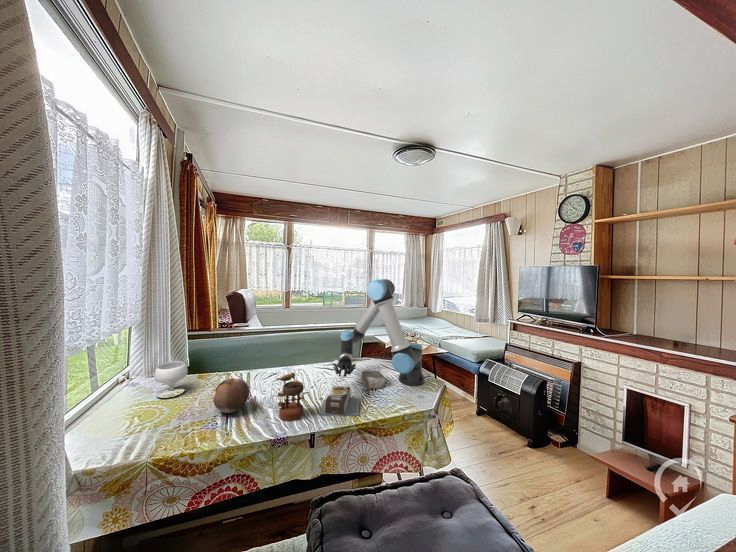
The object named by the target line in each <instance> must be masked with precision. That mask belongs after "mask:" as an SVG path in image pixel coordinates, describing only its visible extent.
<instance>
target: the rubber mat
mask: <svg viewBox="0 0 736 552" xmlns="http://www.w3.org/2000/svg"><path fill="white" fill-rule="evenodd" d="M325 406H326V399H323V400H322V404H321V407H320V411H319V413H318V415H319V416H334V417H335V416H337V417H339V416H341V417H342V416H343V417H345V416H346V417H348V416H349V417H359V414H360V413H359V412H360V400H356V399H355V400H353V399H351V400H350V399H349V402H348V405H347V408H346V410H345V413H344V415H343V414H332V413H325Z"/></svg>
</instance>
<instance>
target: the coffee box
mask: <svg viewBox="0 0 736 552" xmlns="http://www.w3.org/2000/svg"><path fill="white" fill-rule="evenodd" d="M350 399H351V386H347V385H346V386H345V385H333V384H332V388H331V389H330V391H329V393H328V395H327V397H326V399H325V400H326V406H325V413H332V414H343V415H344V413H345V410H346V408H347V405H348V402H349V400H350Z"/></svg>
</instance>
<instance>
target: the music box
mask: <svg viewBox="0 0 736 552" xmlns="http://www.w3.org/2000/svg"><path fill="white" fill-rule="evenodd" d="M292 379H293V380H292ZM290 380H292V381H290ZM275 381H276V382H277V381H280V384H282V382H284V383H283V386H282V389H280V391H279V392H280V393H277V397H279V402H278V407H279V410H278V411H279V412H278V413H279V415H278V416H279V419H280V420H281V421H284V422H294V421H297V420H299V419H301V418H302V417H303V416H304V405H303V404H301V403H300V401H301V400H302V399H303V400H305V396H304V395H305V394H310V392H309V391H306V392H304V389H305V387H304V386H305V385H304V384H303V382H301V381H297V380H296V374H295V372H290V374H289V373H288V374H287V373H286V374H285V375H282V376H281V377H277V378H276V379H275ZM301 393H302V397H301V396H300V394H301ZM295 396H296V397H297V398H296V397H295ZM282 397H286V398H284V402H282ZM289 397H291V399H290V398H289ZM296 400H297V401H296ZM290 401H291V402H290Z"/></svg>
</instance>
